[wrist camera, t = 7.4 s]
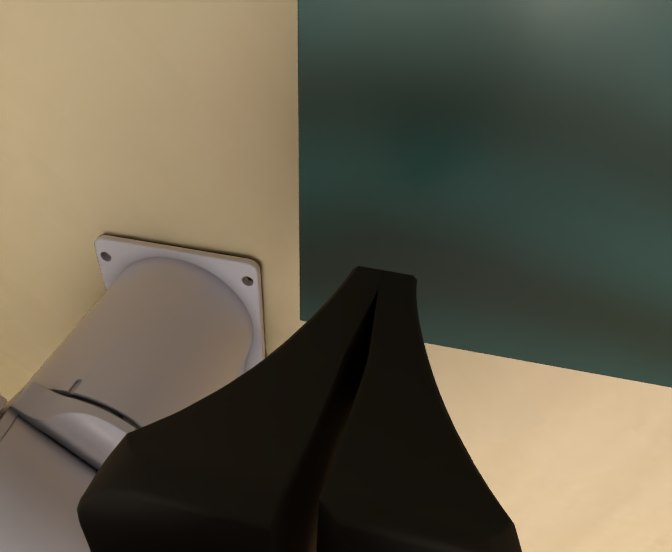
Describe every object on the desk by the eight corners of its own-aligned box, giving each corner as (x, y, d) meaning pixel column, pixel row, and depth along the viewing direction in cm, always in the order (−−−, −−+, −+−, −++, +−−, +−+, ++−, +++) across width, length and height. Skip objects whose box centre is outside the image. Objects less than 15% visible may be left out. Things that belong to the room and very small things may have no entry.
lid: (679, 371, 18) (685, 390, 18) (306, 305, 20) (299, 320, 19) (1028, -277, 9) (1064, -284, 9) (306, -286, 11) (294, -291, 11)
